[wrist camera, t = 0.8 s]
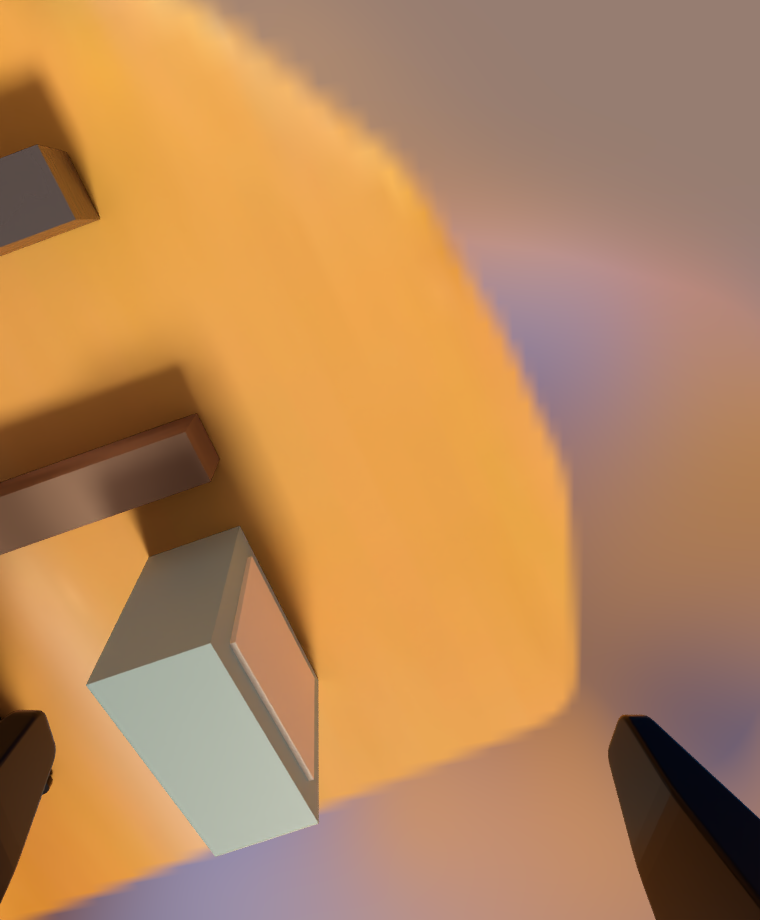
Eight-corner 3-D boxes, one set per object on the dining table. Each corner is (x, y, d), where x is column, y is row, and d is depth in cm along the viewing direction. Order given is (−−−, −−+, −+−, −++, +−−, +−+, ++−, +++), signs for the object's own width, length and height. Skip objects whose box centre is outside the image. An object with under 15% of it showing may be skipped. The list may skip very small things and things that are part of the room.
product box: (239, 704, 27) (215, 856, 21) (149, 556, 23) (86, 685, 17) (322, 677, 27) (323, 822, 20) (244, 523, 23) (216, 640, 17)
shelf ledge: (-134, 582, 22) (-175, 615, 21) (-170, 542, 22) (-215, 572, 20) (219, 459, 22) (210, 481, 20) (196, 413, 21) (184, 431, 19)
